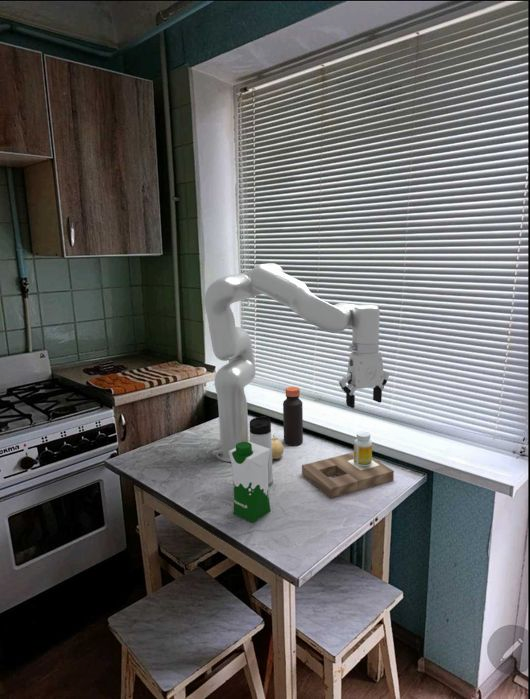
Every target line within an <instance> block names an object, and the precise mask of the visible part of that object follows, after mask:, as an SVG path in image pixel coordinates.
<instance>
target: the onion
mask: <svg viewBox="0 0 530 699" xmlns="http://www.w3.org/2000/svg"><path fill="white" fill-rule="evenodd" d="M271 442H272V461H274V460H278V459H280V458H281V457H282V456H283V454H284V446H283V445H284V444H283V443H282V442H281V440H280V439H278V437H277V436H275V435H274V434H273V435H272V437H271Z"/></svg>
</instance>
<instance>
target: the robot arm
mask: <svg viewBox="0 0 530 699" xmlns="http://www.w3.org/2000/svg"><path fill="white" fill-rule="evenodd" d="M259 295H264V296H266V297H268V298H270V299H273V300H274V301H276V302H278V303H279V304H282V305H283V306H286V307H287V308H289V309H291V310H292V311H293V312H294V314H297V315H298V316H299V317H300V318H302V319H303V320H304V321H306V322H308V323H309V324H311V325H313V326H315V327H317V328H318V329H320V330H322V331H325V332H327V333H330V334H340V333H342V332H343V331H345V330H346V329H348V328H351V329H352V332H351V333H352V338H351V339H352V340H351V345H349V347H348V349H349V351H351V352H350V354H349V358H348V363H347V364H348V365H347V373H346V375H344V376H343V377H342V378H340V379H339V380H338V384H339V385H340V389H341V390H342V391H343V392H344V393H345V400H346V401H345V403H346V406H347V407H349V408H351V409H354V408H355V406H356V404H355V401H356V400H355V399H356V396H355V392H356V390H357V389H358V390H363V389H366V388H372V387H373V390H372V400H373V401H375V402H377V403H382V400H383V399H382V395H383V390H384V388H385V385H386V384H387V383H388V379H389V377H390V373H389V372H387V371H385V370H384V363H383V362H384V361H383V356H382V352H381V351H380V350H379V344H380V342H379V341H380V317H381V316H380V315H381V314H380V312H381V311H380V308H379V306H377V305H376V304H375V305H374V304H353V303H346V302H337V303H336V304H330V303H329V302H326V301H324V300H323V299H321V298H319V297H317V296H316V295H315V294H314V293H312V292H311V291H310V289H309V288H308V286H307V284H306V283H305V282H303V281H302V280H299V279H297V278H296V277H293V276H291V275H290V274H287V273H285V271H284V269H283V268H282V267H281V266H280V265H279V264H277V263H274V262H268V263H261V264H258V265H256V266H255V267H254V268H252V269H251V270H247V271H245V272H241V273H238V274H231V275H226V276H223V277H220V278H219V277H218V279H216V280H214V281H213V282H212V283H211V284H210V285H209V286H208V287H207V289H206V291H205V293H204V298H203V299H204V302H203V303H204V310H205V313H206V314H205V315H206V318H207V324H208V329H209V335H210V342H211V347H212V351H213V354H214V356H215V357H216V359H217V360H220V361H222V362H225V361H228V363H226V364H224V365H223V366H221V367H220V368H218V371H216V373H215V375H214V379H213V380H214V381H213V382H214V387H215V391H216V396H217V406H218V421H219V422H218V424H219V441H217V444H216V445H214V446H208V447H206V454H212V455H214V456H216V458H217V459H219V461H220V460H221V461H224V462H228V463H231V459H230V455H229V451H230V450H232V449H234V448H236V444H238V443H240V442H250V439H249V422H248V420H249V418H248V417H249V416H248V402H247V401H248V400H247V396H246V394H245V387H246V386H247V385H249V384H250V383H251V382H252V381H253V380H254V378H255V376H256V370H257V369H256V362H255V356H254V350H253V344H252V339H251V337H250V335H249V334H248V332H247V331H246V330H245V329H244V328H243V327H239V326H236V320H235V316H234V313H233V311H232V309H231V305H232V304H234V303H238V302H240V301H244V300H248V299H250V298H254V297H257V296H259Z"/></svg>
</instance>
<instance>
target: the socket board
mask: <svg viewBox="0 0 530 699" xmlns="http://www.w3.org/2000/svg"><path fill="white" fill-rule="evenodd" d="M394 472H395V471H394V470H393V469H392V468H390V467H388V466H386V464H384V463H383V462H380V461H379V460H377V459H375V458H374V457H372V463H371V465H369V466H366V467H362V466H358V465H356V464H355V463H354V451H353V452H350V453H345V454H340V455H337V456H336V455H335V456H333V457H328V458H325V459H321V460H318V461H314V462H310V463H305V464H302V465H301V475H303V477H305V478H306V479H307V480H308V481H309V482H310V483H311V484H313V485H314V486H315V487H316V488H317V489H319V490H320V491H321V492H322V493H323V494H324V495H325V496H327V497H328V498H329V499H330V500H332V499H335V498H338V497H341V495H342V496H344V494H345V495H348V494H352V493H355V492H359V491H362V490H365V489H368V488H372V487H375V486H378V485H381V484H385V483H388V482H392V481H394ZM334 475H335V477H332V476H334ZM330 477H332V478H330Z"/></svg>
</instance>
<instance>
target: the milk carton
mask: <svg viewBox="0 0 530 699" xmlns="http://www.w3.org/2000/svg"><path fill="white" fill-rule="evenodd" d="M269 453H270V449H269V448H266V447H263V446H260V445H257V444H255V443H252V442H250V441H249V442H240V443H238V444H236V448H234V449H232V450H230V451H229V455H230V459H231V462H230V463H231V466H232V484H233V509H232V510H233V514H234V515H235V516H237V517H239V518H241V519H244V520H245V521H247V522H249V523H252V524H254V523H255V522H256V521H258V520H259V519H261V518H263V517H264V516H265V515H267V514H269V513H270V512H271V505H270V503H271V502H270V497H269V487H268V459H269Z"/></svg>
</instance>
